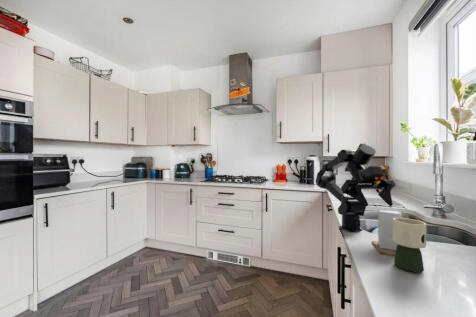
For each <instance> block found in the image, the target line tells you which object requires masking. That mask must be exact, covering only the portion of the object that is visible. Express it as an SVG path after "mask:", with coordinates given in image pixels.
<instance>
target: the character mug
mask: <svg viewBox="0 0 476 317" xmlns="http://www.w3.org/2000/svg"><path fill="white" fill-rule="evenodd" d="M393 241H394V242H395V243H397V244H398V245H397V248H396V253H395V256H394V265H395V266H397V267H399V268H401V269H404V270H407V271H408V272H414V273H423V272H425V267H424V260H423V255H422V251H421V249H424V248H426V247H427V223H426V222H424V221H421V220H418V219H413V218H409V217H402V218H393Z"/></svg>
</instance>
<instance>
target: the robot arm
mask: <svg viewBox="0 0 476 317" xmlns="http://www.w3.org/2000/svg"><path fill="white" fill-rule="evenodd" d="M376 153H377V151H376V149H375V148H373V147H372V146H370V145H367V144H366V143H362V142H361V143H360V144H359V145H358V147H357V149H341V150H339V152H338V153H337V156H336V157H334V158H333V159H331V160H329V161H328V162H326V163H323V164H322V166H321V169H320V170H319V171H318V172H317V174H316V178H315V184H316V186H317V187H319V188H320V189H324V190H326V191H328V192H329V194H331V195H332V196H333V197H335V198H336V199H337V200H338V201H339V202H340V205H339V207H337V213H338V214H339V215H341V225H339V226H338V228H340V229H343V230H345V231H347V232H350V233H353V232H360V231H361V230H362V231H363V228H361V219H360V217H363V216H364V215H365V211H366V208H367V207H368V206H369V203H368V201H367V199H366V196H365V195H364V193H363V191H362V190H375V192H377V196H379V197H380V198H381V199H382V201H384V202H385V203H386V204H387V205H388V206H389V207H392V206H393V205H394V203H393V200H392V194H391V193H392V192H391V191H392V190H393V189H394V188H395V187H396V186H397V185H396V182H395V181H394V180H393V179H381V180H380V181H379V182H378V183H376V182H377V181H378V178H379V177H382V176H384V175H385V174H386V173H387V171H386V168H385V167H384V166H383V165H378V166H377V165H371V166H368V167H365V166H366V165H368V164H369V163H370V162H371V160H372V159H373V157H374V156H375V154H376ZM344 165H345V168H344V171H345V172H349V173H350V176H352V177H351V179H346V180H345V181H344V183H343V184H342V185H341V187H340V186H339V185H337V184H336V183H335V179H336V176H335V173H334V171H335V170H337V169H339V168H340V167H343V166H344ZM327 172H330V175H324V174H326V173H327Z"/></svg>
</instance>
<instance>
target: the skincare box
mask: <svg viewBox="0 0 476 317" xmlns="http://www.w3.org/2000/svg"><path fill="white" fill-rule="evenodd" d="M377 213H378V214H377V216H378V217H377V218H378V220H377V221H378V223H377V224H378V227H377V228H378V232H377V233H378V236H377V237H378V238H377V241H378V244H379V246H380V248H383V249H389V250H396V248H397V245H398V244H397V243H395V242H394V241H393V218H403V214H402V213H401V212H400V211H395V210H386V209H378V211H377Z"/></svg>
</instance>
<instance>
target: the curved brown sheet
mask: <svg viewBox="0 0 476 317" xmlns="http://www.w3.org/2000/svg"><path fill="white" fill-rule="evenodd" d="M371 243H372V244H373V246H374V248H375V249H376V250H377V252H378V253H379V254H380V255H386V256H392V257H395V253H396V250H389V249H383V248H380V246H379V244H378V240H377V241H376V240H372V241H371Z"/></svg>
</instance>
